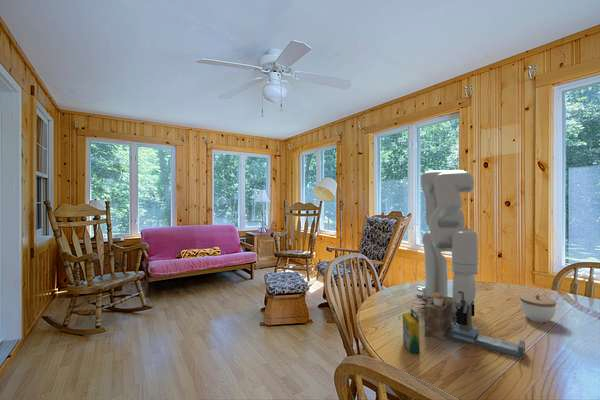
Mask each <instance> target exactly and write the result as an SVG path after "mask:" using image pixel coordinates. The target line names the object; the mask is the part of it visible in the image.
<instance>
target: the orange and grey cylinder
mask: <svg viewBox="0 0 600 400" xmlns="http://www.w3.org/2000/svg"><path fill="white" fill-rule="evenodd" d="M433 297H434V305H436V306H440V307H443V294H442V293H433Z"/></svg>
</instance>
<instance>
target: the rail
mask: <svg viewBox="0 0 600 400" xmlns="http://www.w3.org/2000/svg"><path fill="white" fill-rule="evenodd" d="M453 329H454V327H453V326H452V327H449V328H448V330H447V331H446V338H445V339H449V340H453V341H456V342H460V343H464V344H466V345H469V346H473V347H477V348H480V349H484V350H487V351H492V352H495V353H498V354H502V355H506V356H508V355H509V357H512V356H513V357H512V358H515V357H517V358H516V359H519V358H521V359H520V360H522V359H523V360H524V359H525V354H526V341H524V340H519V343H513V342H510V341H506V340H502V339H498V338H495V337H490V336H486V335H483V334H479V333H478V334H477V335H476V337H475V338H474V343H473V342H470V341H466V340H462V339H459V338H455V337H453Z"/></svg>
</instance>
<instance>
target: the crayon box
mask: <svg viewBox="0 0 600 400" xmlns="http://www.w3.org/2000/svg"><path fill="white" fill-rule="evenodd" d="M402 338H403V339H402V342H403V345H405V346H404V347H406V349H407V350H408V352H409V353H410V355H420V354H421V346H420V345H421V344H420V343H421V341H420V316H419V314H418V313H416V312H415V309H413V307H410V313H407V312H405V313H402Z"/></svg>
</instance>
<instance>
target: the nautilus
mask: <svg viewBox="0 0 600 400" xmlns="http://www.w3.org/2000/svg"><path fill="white" fill-rule="evenodd" d="M414 297H415V298H413V301H419V302H422V303H421V304H420V303H417V305H418V306H419V305H420V306H422V307H418V306H414V308H416V309H415V311H420V313H423V314H424V306H425V305H426V304H428V303H429V302H430V301H431V300H433V299H434V297H427V298H428V299H427V298H423V297H424V296H422V295H419V296H418V298H419V299H420V300H419V299H416V298H417V296H416V295H415V296H414ZM443 300H444V301H449V302H452V318H454V317H455V318H456V303H453V301H452V296H451V297H447V296H446V297H443ZM412 304H413V305H416V303H414V302H412ZM410 308H413V306H412V305H411V306H410Z"/></svg>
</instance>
